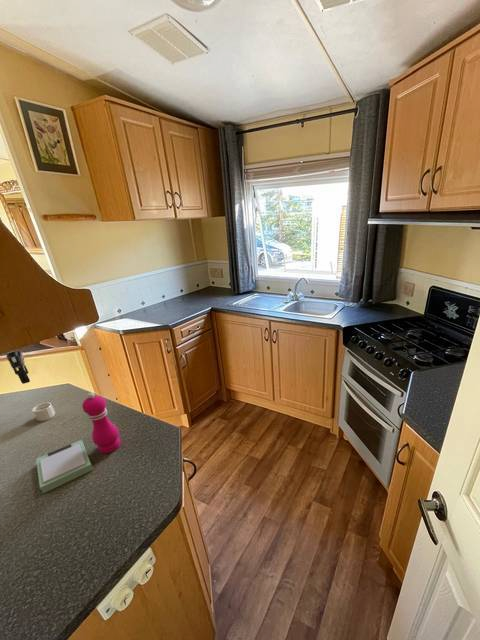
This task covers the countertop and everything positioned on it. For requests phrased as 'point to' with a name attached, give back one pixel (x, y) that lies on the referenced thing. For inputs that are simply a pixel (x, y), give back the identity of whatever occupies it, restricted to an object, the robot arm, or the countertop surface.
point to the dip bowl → (43, 411)
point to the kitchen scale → (62, 466)
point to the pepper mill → (101, 424)
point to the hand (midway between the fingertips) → (25, 378)
